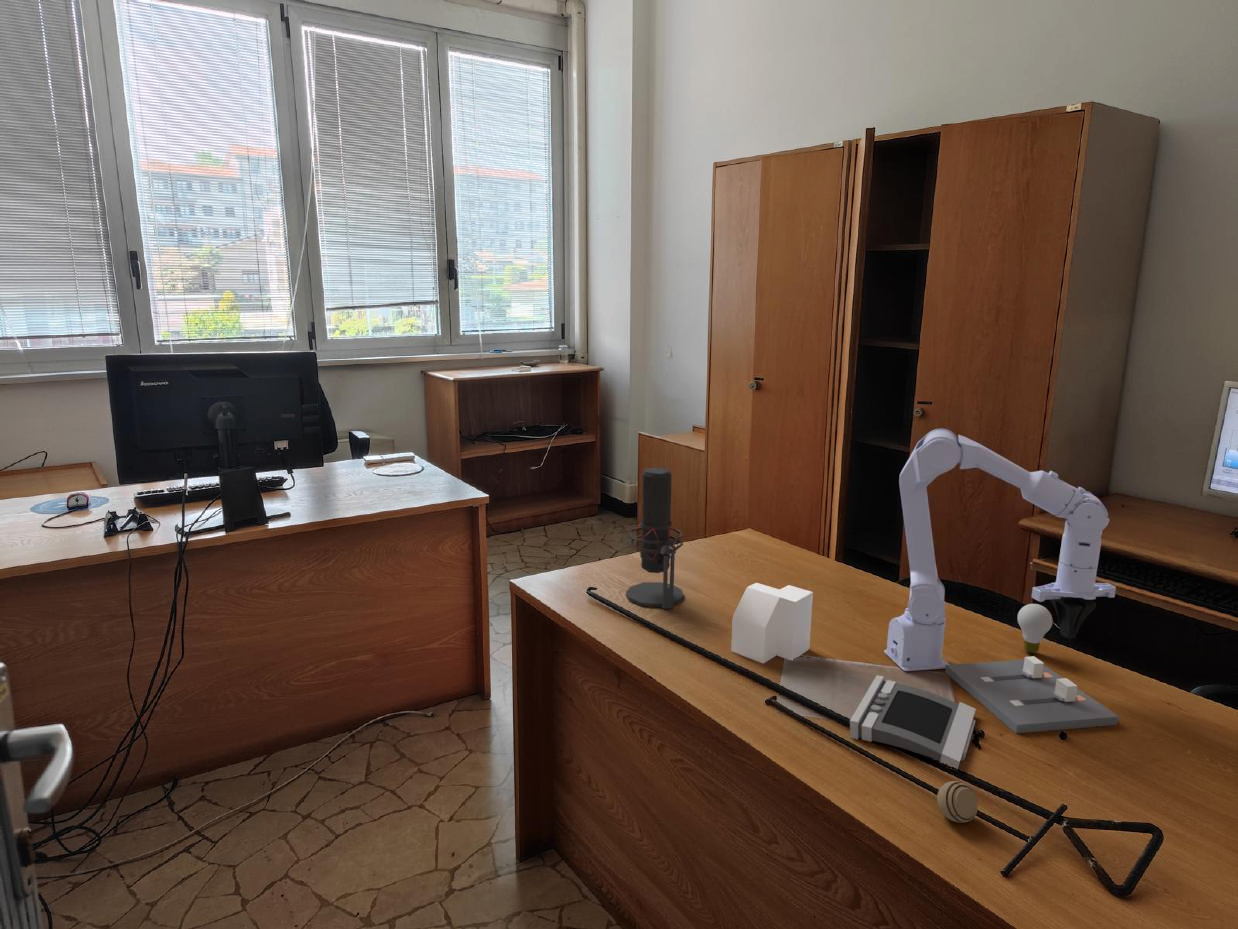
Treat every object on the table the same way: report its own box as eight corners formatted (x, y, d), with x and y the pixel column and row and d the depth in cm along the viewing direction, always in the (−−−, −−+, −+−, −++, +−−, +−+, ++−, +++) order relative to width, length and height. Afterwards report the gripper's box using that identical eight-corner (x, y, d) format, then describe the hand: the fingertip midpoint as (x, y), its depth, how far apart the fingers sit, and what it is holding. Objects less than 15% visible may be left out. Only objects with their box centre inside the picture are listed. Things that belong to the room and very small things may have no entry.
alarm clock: (876, 675, 131) (978, 694, 123) (876, 699, 132) (978, 720, 124) (849, 720, 117) (963, 745, 109) (850, 747, 118) (962, 774, 109)
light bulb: (1052, 661, 143) (1059, 612, 141) (1018, 658, 144) (1025, 609, 142) (1041, 647, 148) (1048, 600, 146) (1009, 644, 149) (1015, 597, 147)
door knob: (935, 825, 98) (939, 792, 97) (934, 802, 103) (938, 770, 102) (977, 835, 96) (982, 801, 95) (974, 811, 101) (978, 778, 100)
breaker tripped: (1062, 702, 125) (1064, 687, 124) (1051, 694, 127) (1053, 679, 127) (1078, 701, 125) (1080, 685, 125) (1067, 693, 128) (1069, 678, 127)
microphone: (697, 594, 174) (701, 469, 168) (670, 614, 163) (673, 481, 156) (644, 581, 182) (646, 461, 175) (614, 600, 171) (615, 472, 164)
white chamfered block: (809, 649, 147) (813, 592, 145) (778, 669, 139) (782, 609, 137) (762, 633, 154) (765, 578, 152) (731, 651, 146) (733, 593, 144)
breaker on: (1029, 678, 132) (1031, 664, 132) (1019, 671, 135) (1021, 657, 134) (1044, 677, 133) (1047, 663, 132) (1035, 670, 135) (1036, 656, 135)
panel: (1016, 733, 119) (1017, 724, 119) (945, 672, 138) (945, 664, 138) (1117, 724, 122) (1118, 716, 121) (1033, 666, 141) (1034, 658, 140)
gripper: (1056, 573, 124) (1045, 649, 127) (1134, 569, 126) (1122, 643, 129) (1027, 559, 131) (1018, 631, 134) (1102, 555, 133) (1091, 626, 136)
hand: (1067, 636), depth 132 cm, fingers closed
